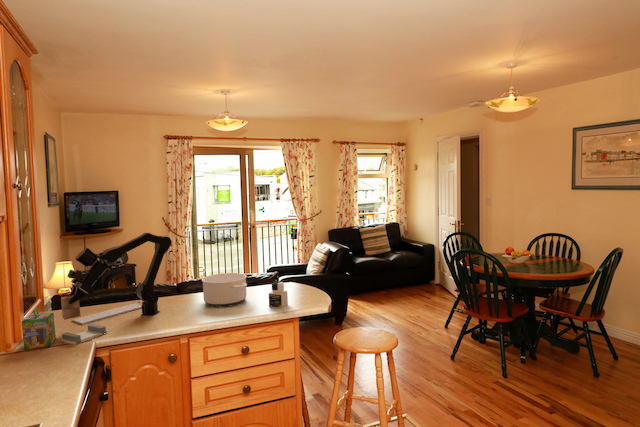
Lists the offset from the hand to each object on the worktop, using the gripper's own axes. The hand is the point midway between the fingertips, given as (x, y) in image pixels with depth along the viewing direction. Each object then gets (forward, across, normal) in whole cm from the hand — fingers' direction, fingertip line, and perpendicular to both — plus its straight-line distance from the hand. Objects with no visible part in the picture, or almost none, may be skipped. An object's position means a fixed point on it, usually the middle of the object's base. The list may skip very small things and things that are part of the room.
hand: (68, 302), depth 177 cm
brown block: (+4, 0, +5) cm, 7 cm away
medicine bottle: (-50, +37, +70) cm, 94 cm away
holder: (+7, +12, +11) cm, 18 cm away
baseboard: (-4, -17, +24) cm, 29 cm away
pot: (-39, +11, +59) cm, 72 cm away
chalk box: (+18, +7, +1) cm, 19 cm away
